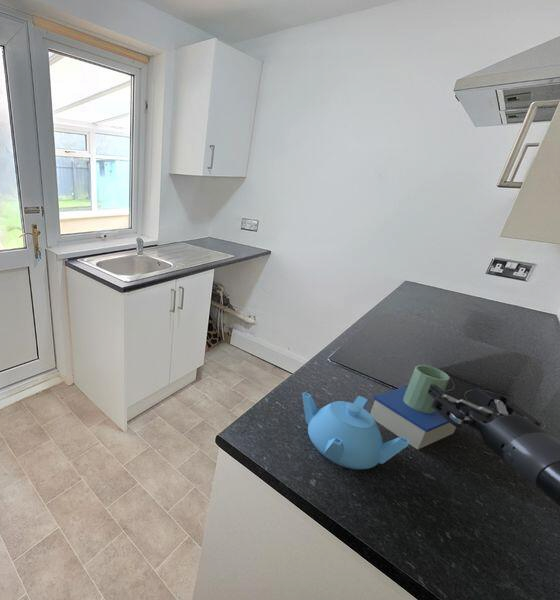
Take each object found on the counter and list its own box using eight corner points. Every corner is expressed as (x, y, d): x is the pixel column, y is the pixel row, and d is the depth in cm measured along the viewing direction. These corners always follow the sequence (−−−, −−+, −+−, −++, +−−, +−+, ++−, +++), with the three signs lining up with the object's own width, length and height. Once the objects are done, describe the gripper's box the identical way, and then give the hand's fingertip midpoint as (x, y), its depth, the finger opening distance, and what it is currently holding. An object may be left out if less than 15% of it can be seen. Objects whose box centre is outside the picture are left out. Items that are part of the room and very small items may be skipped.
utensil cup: (412, 394, 77) (425, 363, 74) (440, 410, 72) (455, 377, 69) (397, 399, 75) (409, 367, 71) (425, 416, 69) (439, 382, 66)
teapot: (401, 480, 60) (420, 437, 57) (324, 477, 60) (338, 433, 56) (355, 423, 75) (368, 386, 71) (293, 421, 74) (302, 383, 71)
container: (406, 402, 84) (414, 383, 81) (458, 432, 74) (469, 412, 72) (367, 416, 77) (374, 396, 75) (418, 451, 68) (427, 429, 65)
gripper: (593, 439, 48) (496, 378, 63) (494, 428, 49) (422, 371, 64) (568, 475, 50) (481, 408, 65) (475, 464, 51) (410, 401, 66)
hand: (452, 389), depth 65 cm, fingers open, 8 cm apart
